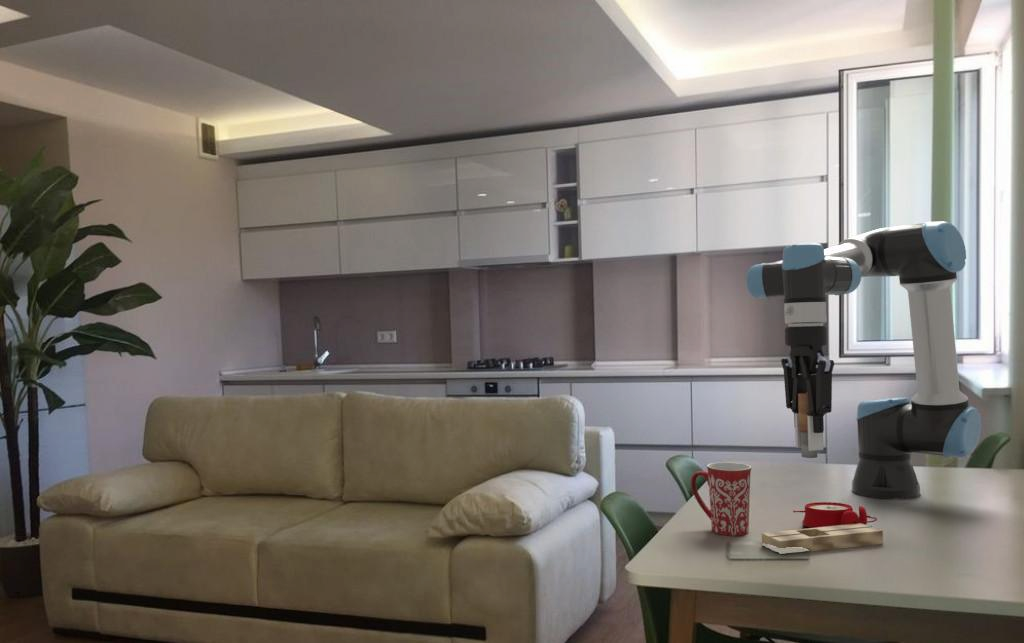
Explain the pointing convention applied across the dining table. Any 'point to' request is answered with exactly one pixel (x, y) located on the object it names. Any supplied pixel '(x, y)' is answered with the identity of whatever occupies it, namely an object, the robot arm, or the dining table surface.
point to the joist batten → (826, 537)
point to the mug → (726, 497)
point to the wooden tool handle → (804, 425)
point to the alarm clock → (832, 515)
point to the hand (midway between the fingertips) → (809, 448)
